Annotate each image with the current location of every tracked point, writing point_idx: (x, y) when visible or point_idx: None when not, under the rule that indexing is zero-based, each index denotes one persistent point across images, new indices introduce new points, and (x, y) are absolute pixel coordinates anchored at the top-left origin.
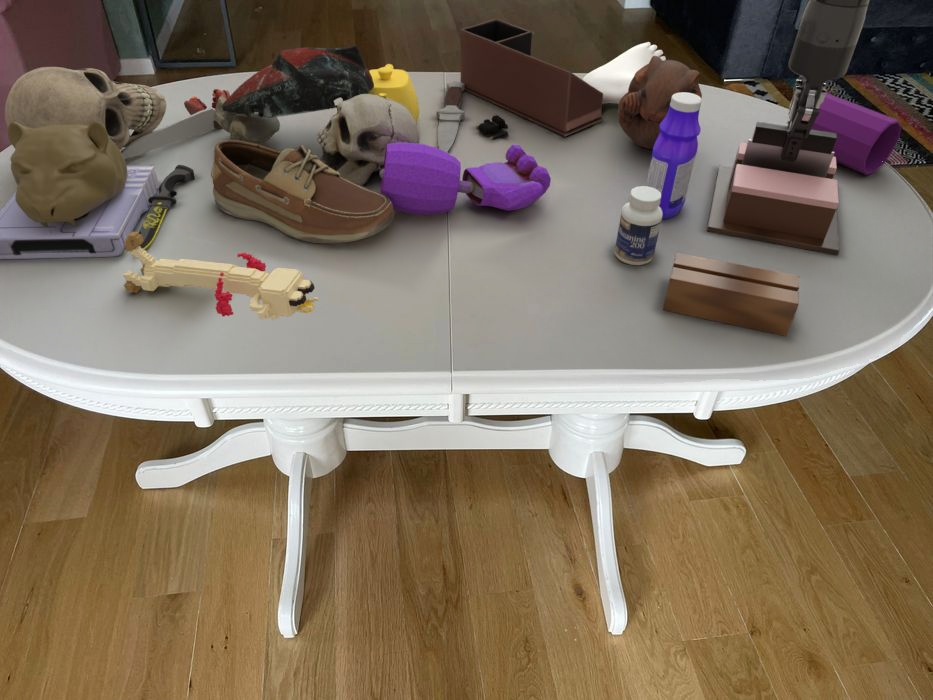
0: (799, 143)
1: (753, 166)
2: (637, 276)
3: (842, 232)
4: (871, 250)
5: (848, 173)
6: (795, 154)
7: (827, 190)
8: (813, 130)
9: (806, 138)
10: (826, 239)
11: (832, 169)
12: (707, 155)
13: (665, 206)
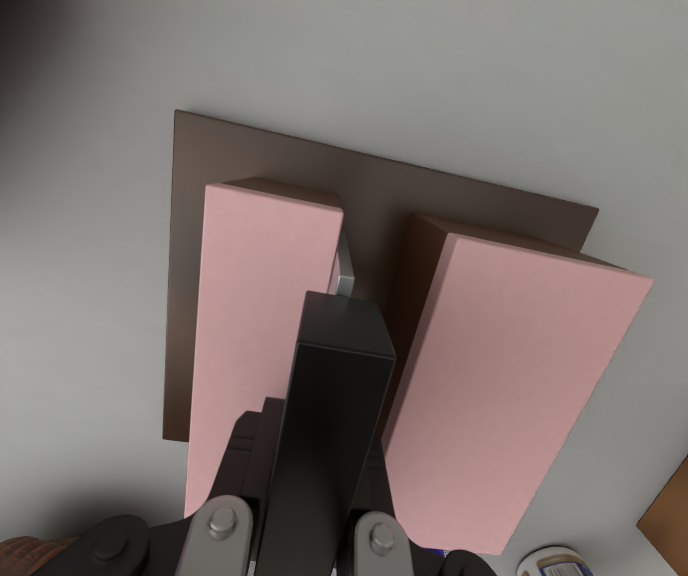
0: (391, 502)
1: None
2: (606, 559)
3: (471, 159)
4: (574, 90)
5: (20, 4)
6: (382, 450)
7: (552, 302)
8: (283, 476)
9: (488, 568)
10: (542, 232)
11: (340, 228)
12: (89, 446)
13: None
